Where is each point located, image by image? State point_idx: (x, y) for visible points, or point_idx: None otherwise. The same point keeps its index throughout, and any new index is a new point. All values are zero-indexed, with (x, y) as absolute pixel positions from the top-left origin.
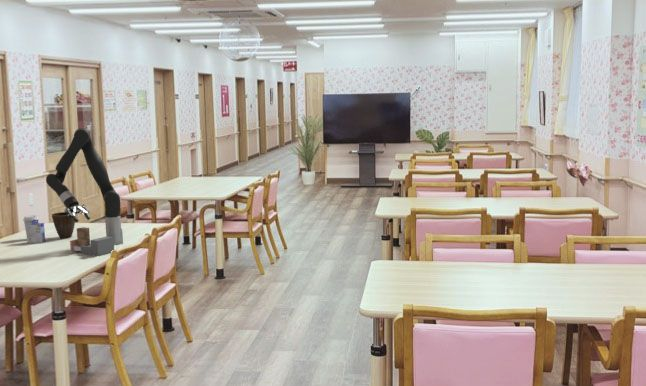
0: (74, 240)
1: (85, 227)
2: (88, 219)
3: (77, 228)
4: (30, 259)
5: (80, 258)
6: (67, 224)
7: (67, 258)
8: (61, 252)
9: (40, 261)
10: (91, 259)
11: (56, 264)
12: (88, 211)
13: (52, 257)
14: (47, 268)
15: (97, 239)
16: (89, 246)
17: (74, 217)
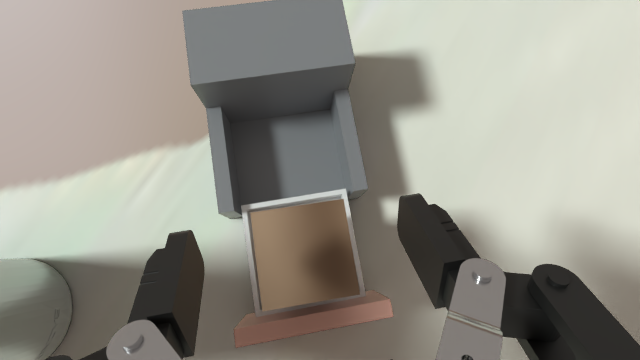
0: (358, 304)
1: (260, 269)
2: (199, 253)
3: (352, 288)
4: (636, 313)
5: (423, 89)
6: None
7: (472, 149)
8: (416, 351)
9: (610, 207)
10: (397, 21)
11: (573, 68)
12: (67, 357)
13: (521, 251)
14: (636, 28)
15: (309, 36)
16: (341, 114)
17: (463, 243)
